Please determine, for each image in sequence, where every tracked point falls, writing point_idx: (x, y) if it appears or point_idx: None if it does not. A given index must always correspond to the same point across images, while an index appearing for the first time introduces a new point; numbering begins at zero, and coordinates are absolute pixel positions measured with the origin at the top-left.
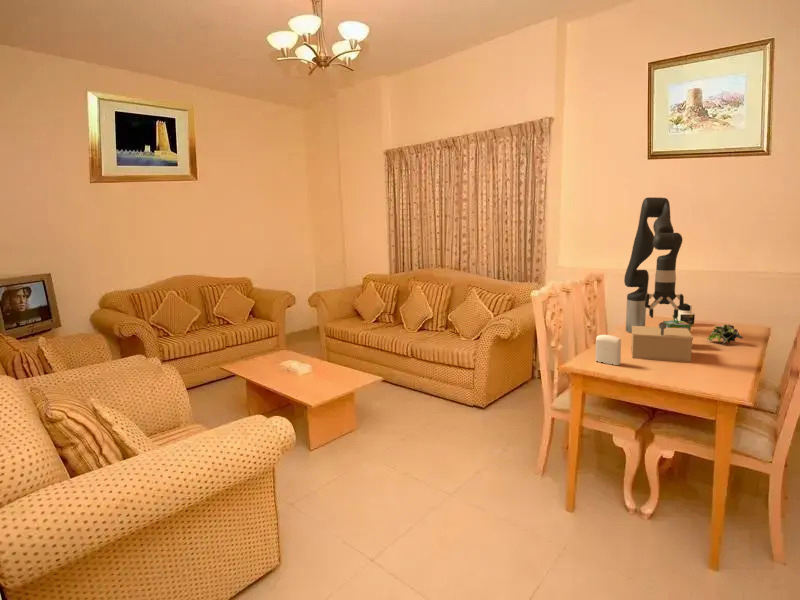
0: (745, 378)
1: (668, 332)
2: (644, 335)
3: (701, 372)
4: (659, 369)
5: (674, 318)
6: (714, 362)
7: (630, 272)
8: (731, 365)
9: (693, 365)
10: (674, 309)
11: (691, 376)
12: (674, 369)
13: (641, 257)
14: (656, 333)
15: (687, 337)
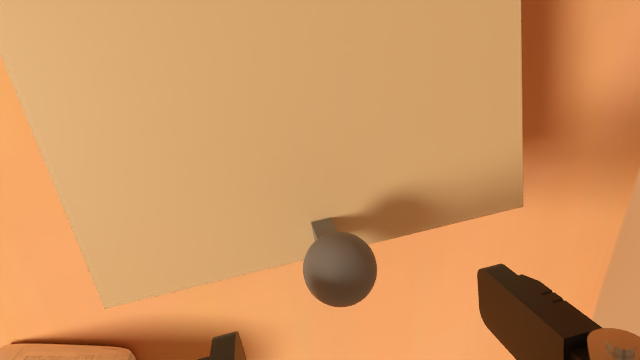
0: (593, 274)
1: (362, 117)
2: (196, 283)
3: (463, 284)
4: (310, 331)
5: (484, 313)
6: (529, 107)
7: None
8: (587, 123)
9: None
10: (567, 356)
11: (426, 348)
12: (367, 299)
13: None
14: (275, 199)
15: (488, 213)
